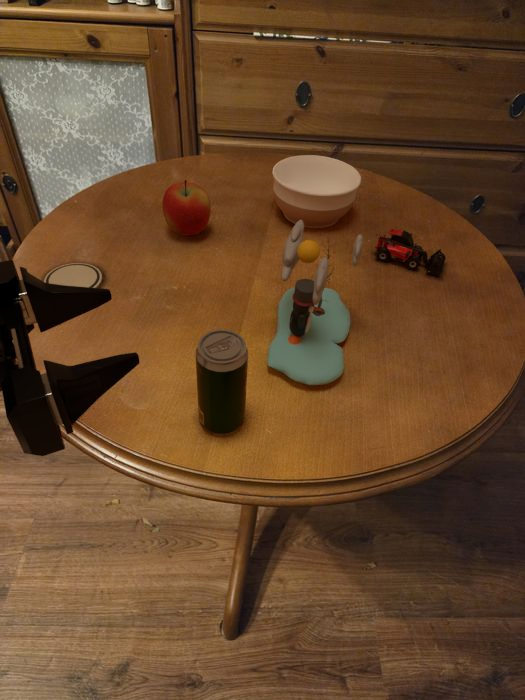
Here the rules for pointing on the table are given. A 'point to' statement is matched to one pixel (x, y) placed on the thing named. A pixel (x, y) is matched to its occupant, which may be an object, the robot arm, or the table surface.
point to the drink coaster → (75, 275)
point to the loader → (408, 252)
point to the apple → (186, 208)
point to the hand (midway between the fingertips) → (123, 323)
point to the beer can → (221, 381)
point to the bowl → (314, 189)
